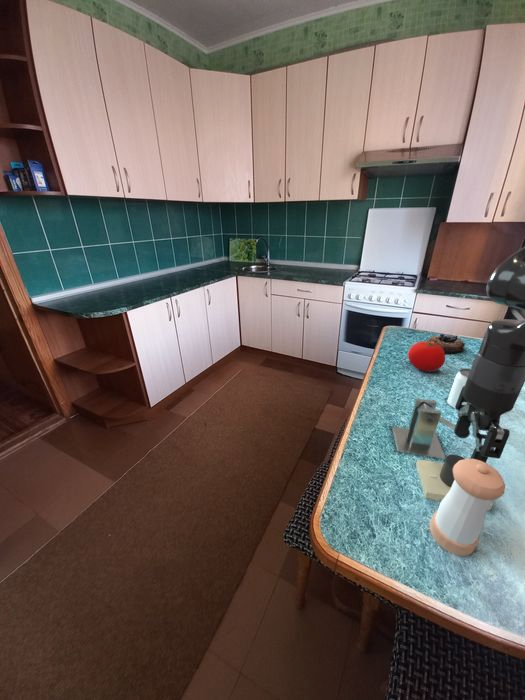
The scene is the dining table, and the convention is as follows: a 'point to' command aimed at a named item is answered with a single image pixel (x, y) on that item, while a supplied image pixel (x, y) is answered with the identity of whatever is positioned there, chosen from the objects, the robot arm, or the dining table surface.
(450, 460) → the dial knob
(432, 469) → the dial panel
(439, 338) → the pastry
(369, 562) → the dining table surface
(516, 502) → the dining table surface
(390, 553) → the dining table surface
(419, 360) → the tomato
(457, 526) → the pepper shaker
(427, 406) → the tap lever
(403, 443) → the bracket
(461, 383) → the can
